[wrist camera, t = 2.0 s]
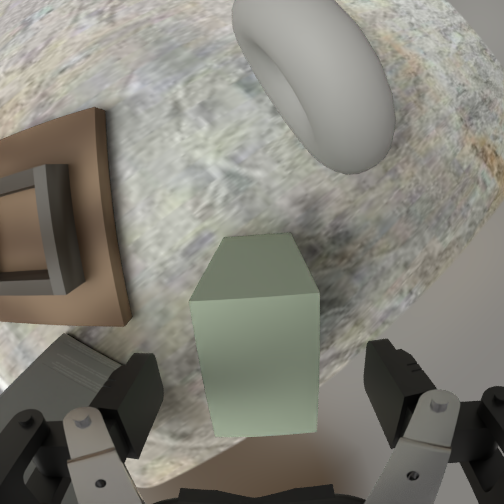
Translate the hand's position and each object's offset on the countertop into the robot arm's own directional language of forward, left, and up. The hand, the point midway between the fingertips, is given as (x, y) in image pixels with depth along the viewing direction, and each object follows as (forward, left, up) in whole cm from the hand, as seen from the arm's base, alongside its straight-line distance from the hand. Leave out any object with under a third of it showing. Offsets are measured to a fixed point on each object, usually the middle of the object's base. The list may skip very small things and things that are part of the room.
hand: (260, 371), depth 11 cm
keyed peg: (0, 0, -9) cm, 9 cm away
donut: (-11, +3, -9) cm, 15 cm away
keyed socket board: (-5, -16, -9) cm, 19 cm away
